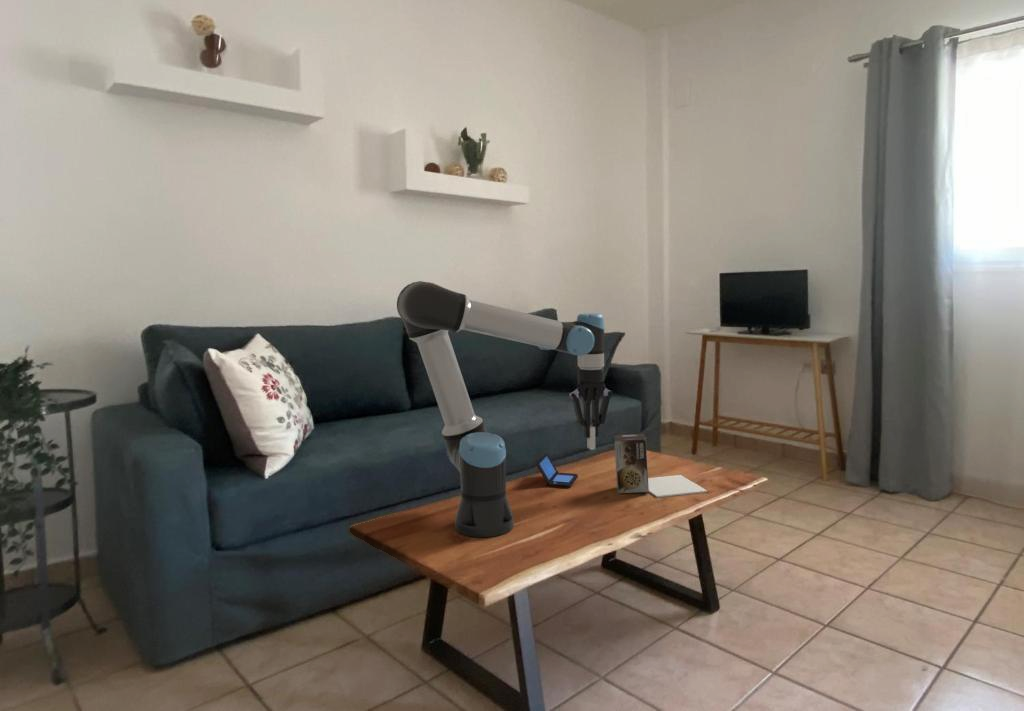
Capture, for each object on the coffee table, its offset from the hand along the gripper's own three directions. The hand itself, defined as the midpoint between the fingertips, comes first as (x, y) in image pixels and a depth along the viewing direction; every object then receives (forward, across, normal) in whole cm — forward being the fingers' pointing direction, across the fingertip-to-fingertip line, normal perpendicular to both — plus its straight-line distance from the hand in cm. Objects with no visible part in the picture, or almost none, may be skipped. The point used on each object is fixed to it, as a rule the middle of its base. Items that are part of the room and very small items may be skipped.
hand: (591, 448), depth 194 cm
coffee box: (+14, -13, 0) cm, 19 cm away
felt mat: (+14, -25, 0) cm, 29 cm away
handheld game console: (+14, +6, -15) cm, 22 cm away
